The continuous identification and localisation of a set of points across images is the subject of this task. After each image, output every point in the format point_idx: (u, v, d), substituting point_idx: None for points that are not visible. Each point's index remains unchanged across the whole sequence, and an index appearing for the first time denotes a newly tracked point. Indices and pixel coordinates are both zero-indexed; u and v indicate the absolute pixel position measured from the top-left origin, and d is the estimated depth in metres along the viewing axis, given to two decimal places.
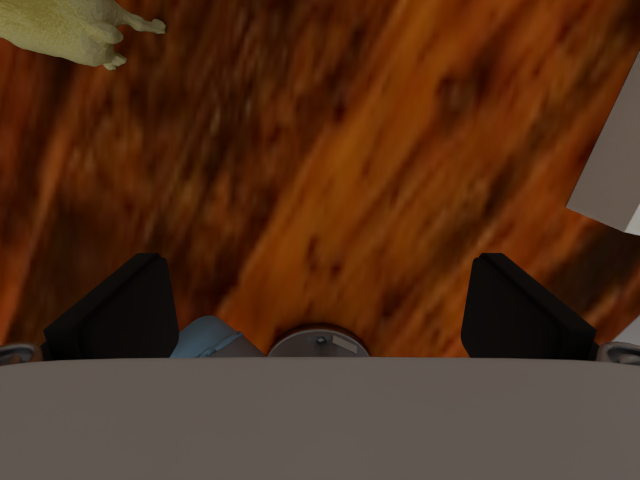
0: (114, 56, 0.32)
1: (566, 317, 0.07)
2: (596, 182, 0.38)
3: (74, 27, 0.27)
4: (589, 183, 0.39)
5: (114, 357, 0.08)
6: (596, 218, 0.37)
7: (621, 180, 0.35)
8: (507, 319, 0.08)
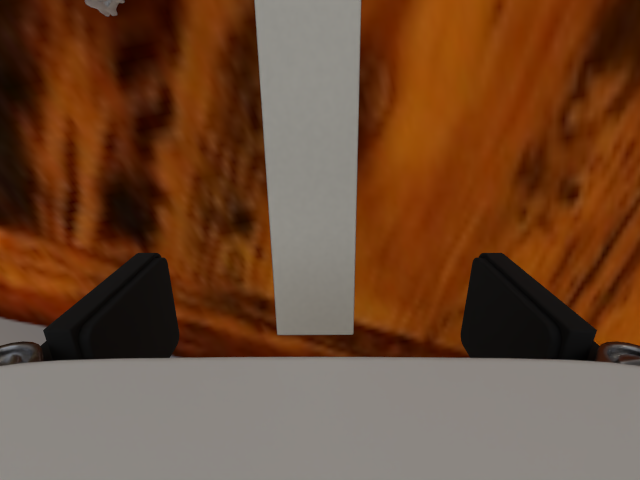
0: None
1: (566, 317, 0.07)
2: None
3: None
4: None
5: (114, 357, 0.08)
6: None
7: None
8: (507, 319, 0.08)
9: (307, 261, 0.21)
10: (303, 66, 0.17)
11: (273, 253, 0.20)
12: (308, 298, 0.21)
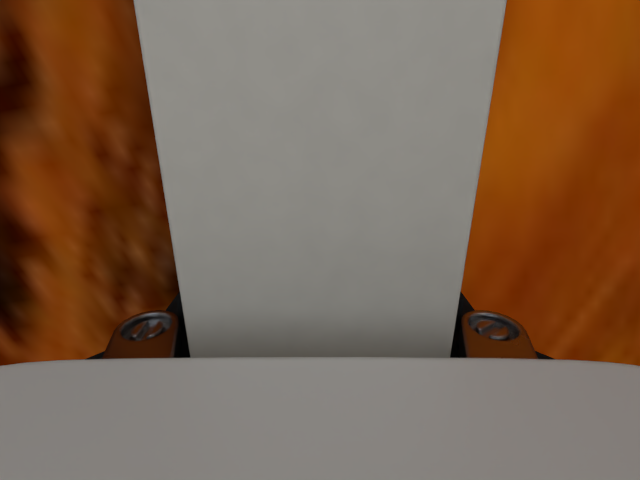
0: None
1: None
2: None
3: None
4: None
5: None
6: None
7: None
8: None
9: None
10: None
11: None
12: None
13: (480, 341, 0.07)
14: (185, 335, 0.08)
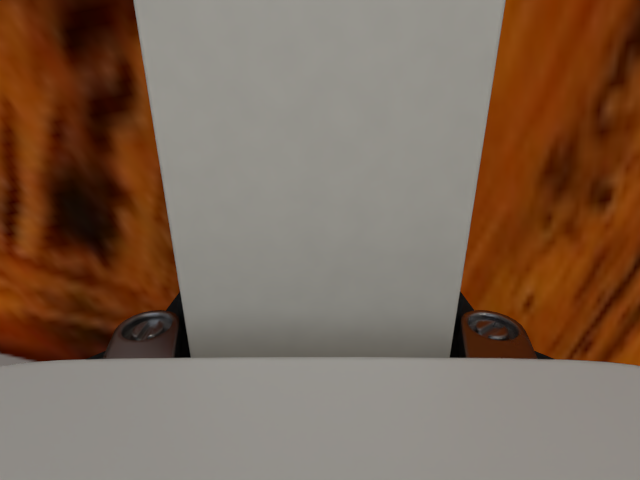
0: None
1: None
2: None
3: None
4: None
5: None
6: None
7: None
8: None
9: None
10: None
11: None
12: None
13: (479, 341, 0.07)
14: (185, 335, 0.08)
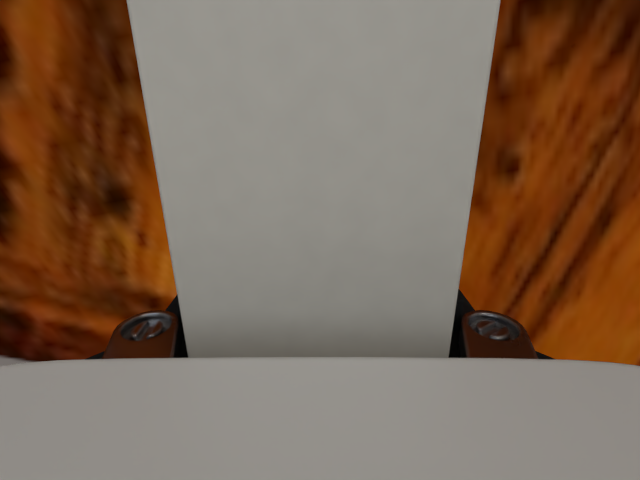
0: None
1: None
2: None
3: None
4: None
5: None
6: None
7: None
8: None
9: None
10: None
11: None
12: None
13: (480, 341, 0.07)
14: None
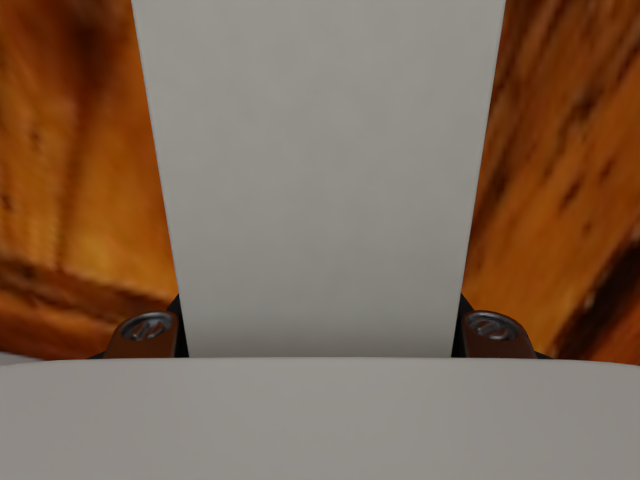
0: None
1: None
2: None
3: None
4: None
5: None
6: None
7: None
8: None
9: None
10: None
11: None
12: None
13: (479, 341, 0.07)
14: (185, 335, 0.08)
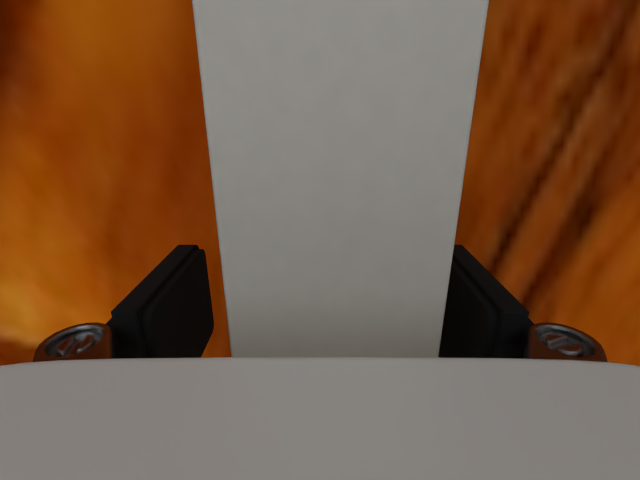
0: None
1: (504, 301, 0.08)
2: None
3: None
4: None
5: (168, 339, 0.08)
6: None
7: None
8: (459, 305, 0.09)
9: None
10: None
11: None
12: None
13: (555, 358, 0.06)
14: (122, 349, 0.07)
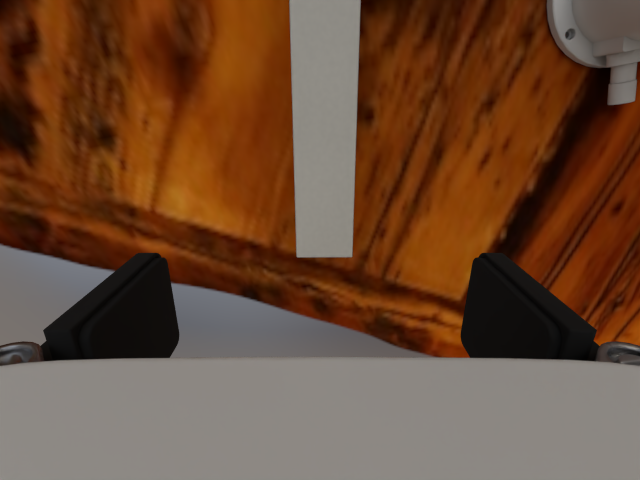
0: None
1: (566, 317, 0.07)
2: None
3: None
4: None
5: (114, 357, 0.08)
6: None
7: None
8: (507, 319, 0.08)
9: (319, 200, 0.29)
10: (321, 60, 0.25)
11: (296, 193, 0.29)
12: (320, 228, 0.30)
13: None
14: None
